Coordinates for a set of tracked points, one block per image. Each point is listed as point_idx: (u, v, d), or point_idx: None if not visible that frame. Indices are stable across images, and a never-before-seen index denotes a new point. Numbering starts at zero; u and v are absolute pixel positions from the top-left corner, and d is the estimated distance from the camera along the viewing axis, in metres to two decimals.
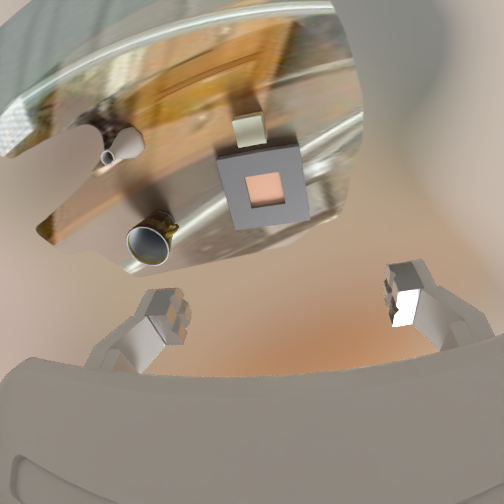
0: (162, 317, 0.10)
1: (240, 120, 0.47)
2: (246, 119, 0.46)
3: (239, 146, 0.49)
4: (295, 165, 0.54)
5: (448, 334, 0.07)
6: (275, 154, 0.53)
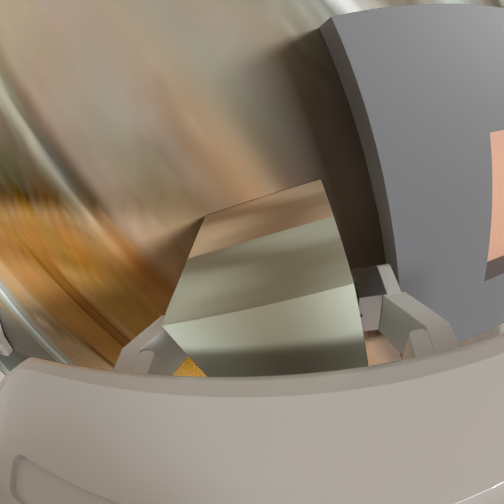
0: None
1: None
2: (210, 372, 0.09)
3: None
4: (455, 42, 0.05)
5: (408, 343, 0.07)
6: (406, 156, 0.08)
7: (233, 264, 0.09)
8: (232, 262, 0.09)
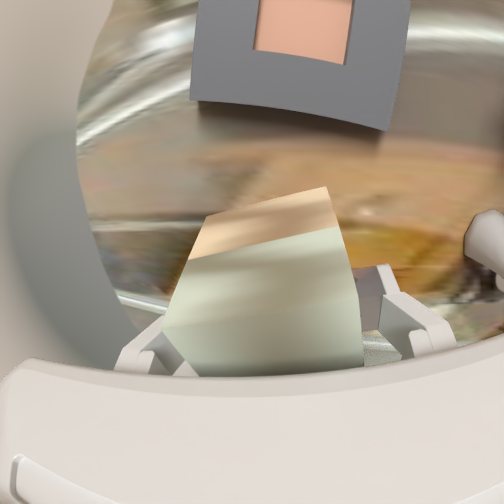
0: None
1: None
2: (206, 376, 0.09)
3: None
4: (209, 56, 0.18)
5: (407, 343, 0.07)
6: (249, 93, 0.20)
7: (235, 269, 0.08)
8: (234, 267, 0.09)
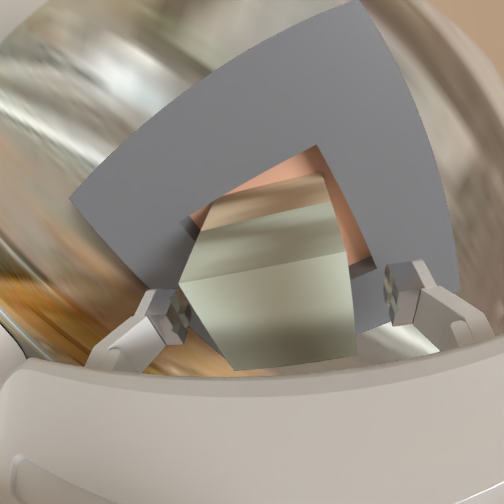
0: (162, 317, 0.10)
1: (225, 349, 0.11)
2: (215, 333, 0.10)
3: (351, 351, 0.10)
4: (125, 178, 0.12)
5: (448, 334, 0.07)
6: (132, 254, 0.15)
7: (243, 235, 0.10)
8: (242, 234, 0.10)
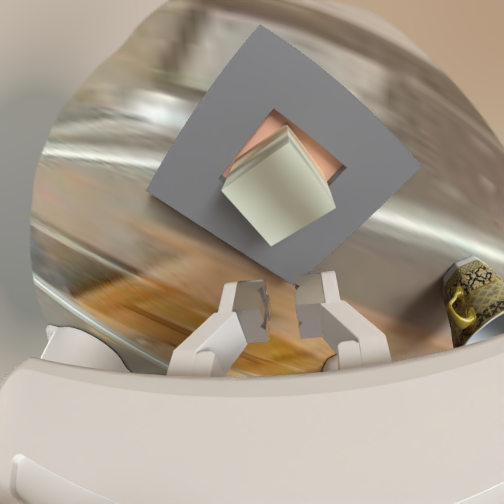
0: (253, 312, 0.10)
1: (259, 229, 0.19)
2: (249, 217, 0.19)
3: (330, 206, 0.18)
4: (179, 164, 0.22)
5: (338, 354, 0.08)
6: (196, 212, 0.24)
7: (248, 162, 0.18)
8: (248, 162, 0.18)
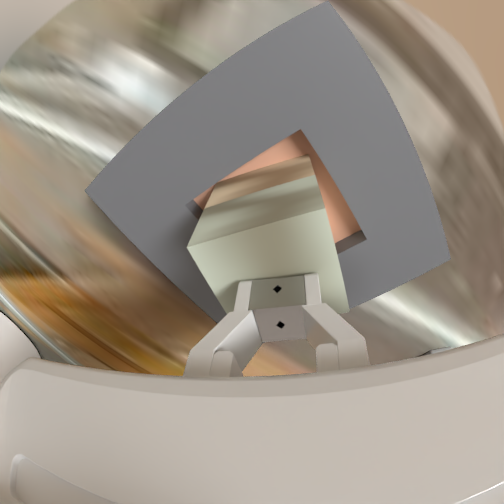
0: (270, 311, 0.09)
1: (229, 311, 0.12)
2: (220, 294, 0.12)
3: (343, 308, 0.12)
4: (136, 168, 0.14)
5: None
6: (144, 238, 0.17)
7: (240, 207, 0.12)
8: (239, 206, 0.12)
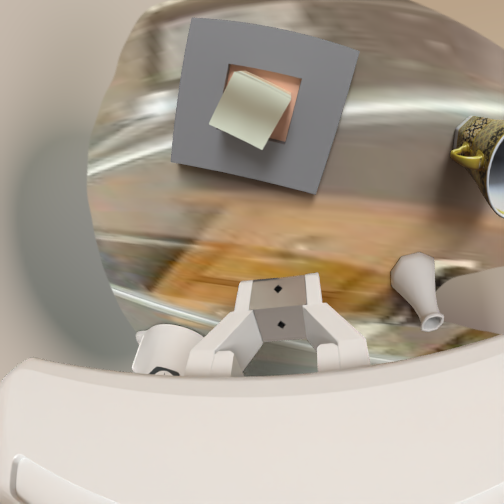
0: (271, 310, 0.09)
1: (247, 140, 0.23)
2: (236, 134, 0.23)
3: (287, 100, 0.21)
4: (185, 131, 0.28)
5: None
6: (212, 161, 0.30)
7: None
8: None
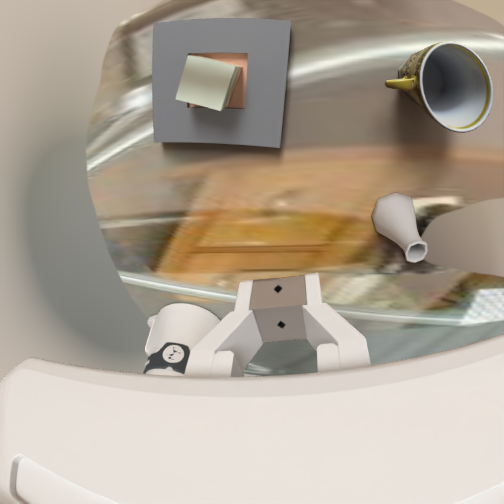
0: (271, 310, 0.09)
1: (207, 105, 0.27)
2: (197, 102, 0.27)
3: (232, 67, 0.25)
4: (162, 114, 0.32)
5: None
6: (187, 135, 0.34)
7: None
8: None
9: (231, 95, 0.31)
